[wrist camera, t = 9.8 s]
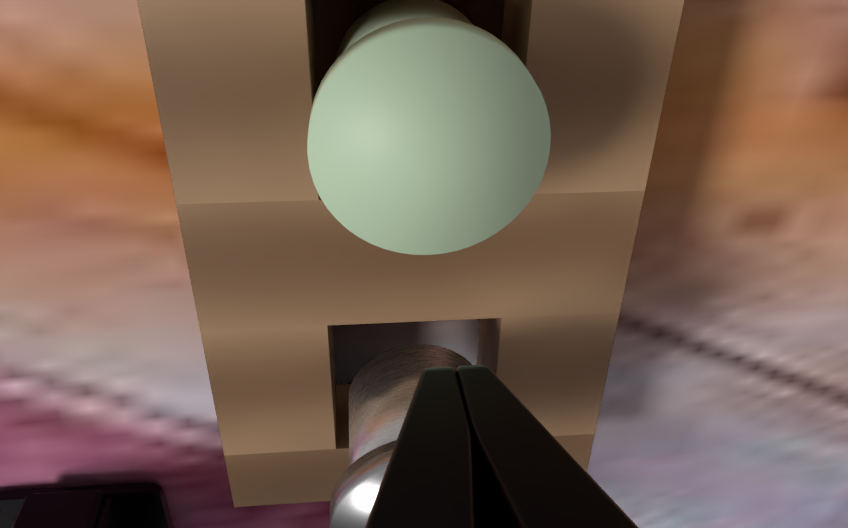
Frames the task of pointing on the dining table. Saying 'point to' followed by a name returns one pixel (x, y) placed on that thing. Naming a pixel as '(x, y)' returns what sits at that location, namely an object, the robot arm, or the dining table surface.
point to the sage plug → (426, 130)
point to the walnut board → (383, 269)
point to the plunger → (379, 424)
